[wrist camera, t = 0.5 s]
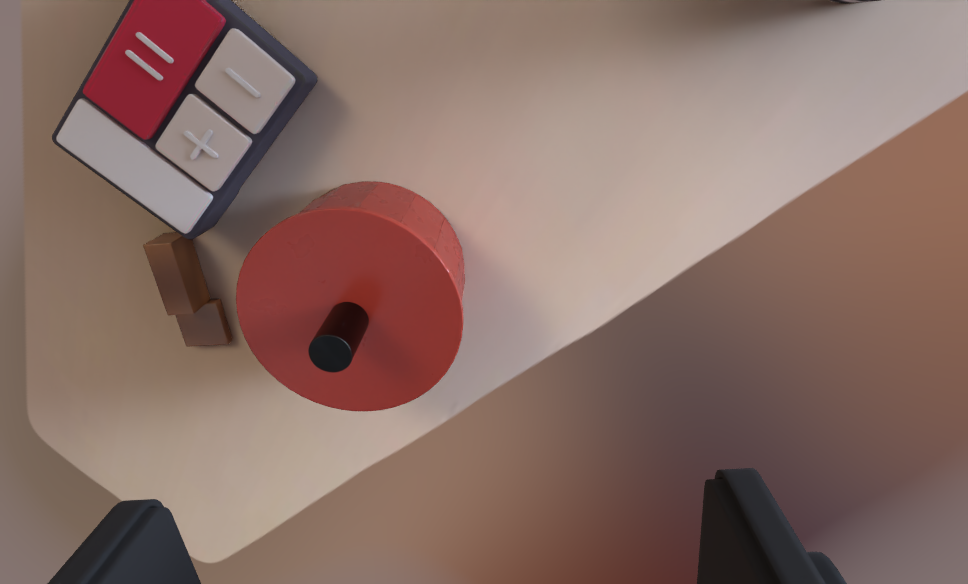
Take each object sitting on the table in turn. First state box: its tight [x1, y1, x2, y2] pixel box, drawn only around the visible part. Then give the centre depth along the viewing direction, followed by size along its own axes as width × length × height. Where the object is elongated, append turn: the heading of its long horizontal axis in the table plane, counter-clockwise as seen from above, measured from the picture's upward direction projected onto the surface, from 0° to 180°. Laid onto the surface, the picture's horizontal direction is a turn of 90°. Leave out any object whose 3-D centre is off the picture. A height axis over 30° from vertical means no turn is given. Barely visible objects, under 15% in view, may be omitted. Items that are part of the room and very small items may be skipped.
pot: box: [299, 182, 465, 301], centre depth 41 cm, size 14×14×8 cm
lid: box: [236, 206, 463, 411], centre depth 35 cm, size 15×15×6 cm
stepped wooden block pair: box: [143, 232, 232, 346], centre depth 45 cm, size 10×4×3 cm, turn 4°
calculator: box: [52, 0, 317, 240], centre depth 38 cm, size 11×4×15 cm
